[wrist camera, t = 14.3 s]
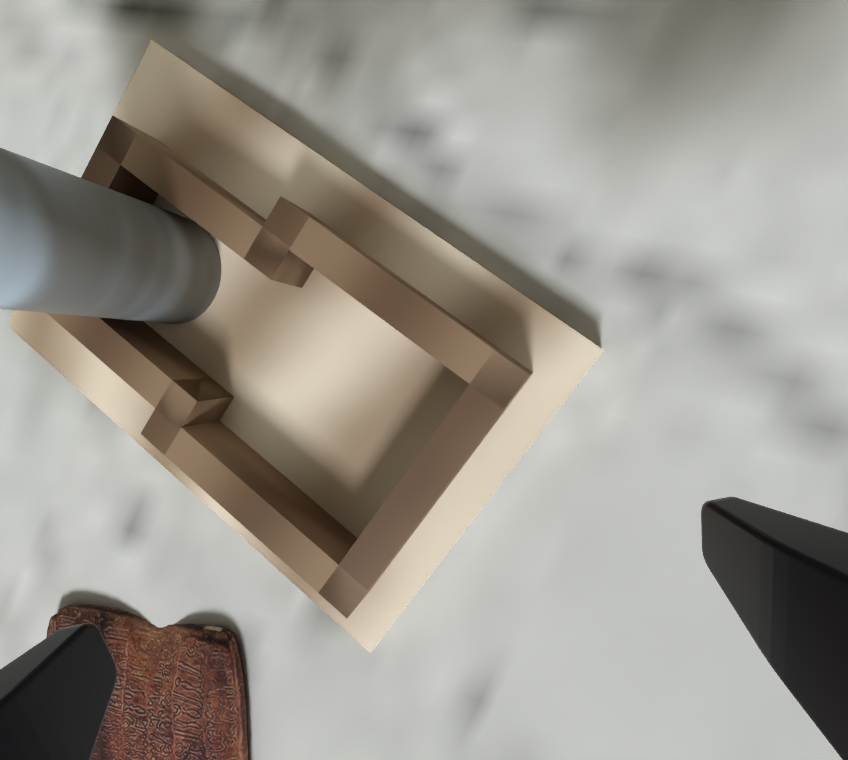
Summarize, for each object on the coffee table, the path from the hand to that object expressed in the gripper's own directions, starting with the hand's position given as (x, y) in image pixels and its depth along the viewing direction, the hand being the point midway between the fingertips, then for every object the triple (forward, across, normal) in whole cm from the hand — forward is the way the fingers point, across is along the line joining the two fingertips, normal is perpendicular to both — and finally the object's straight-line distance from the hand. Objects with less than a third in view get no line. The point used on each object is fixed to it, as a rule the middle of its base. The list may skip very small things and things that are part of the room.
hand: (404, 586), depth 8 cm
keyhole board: (+13, +4, -2) cm, 14 cm away
